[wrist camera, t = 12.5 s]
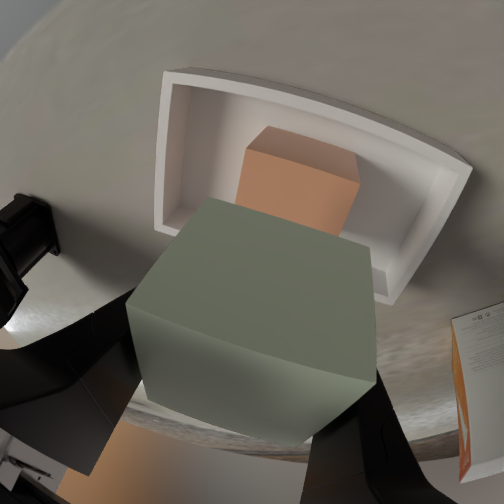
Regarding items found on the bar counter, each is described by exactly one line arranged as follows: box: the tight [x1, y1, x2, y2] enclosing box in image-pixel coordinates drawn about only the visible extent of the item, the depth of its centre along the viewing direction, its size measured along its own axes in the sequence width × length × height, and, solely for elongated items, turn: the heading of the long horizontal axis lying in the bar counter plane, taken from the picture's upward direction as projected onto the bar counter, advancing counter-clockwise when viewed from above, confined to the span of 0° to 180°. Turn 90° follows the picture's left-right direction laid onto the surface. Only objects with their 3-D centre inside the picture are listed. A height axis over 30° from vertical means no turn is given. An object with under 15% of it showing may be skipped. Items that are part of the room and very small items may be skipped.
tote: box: [154, 67, 473, 306], centre depth 16 cm, size 10×16×3 cm, turn 79°
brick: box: [235, 126, 360, 237], centre depth 15 cm, size 5×5×4 cm
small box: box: [451, 302, 504, 483], centre depth 16 cm, size 8×6×13 cm
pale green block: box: [125, 196, 376, 447], centre depth 8 cm, size 5×5×4 cm
